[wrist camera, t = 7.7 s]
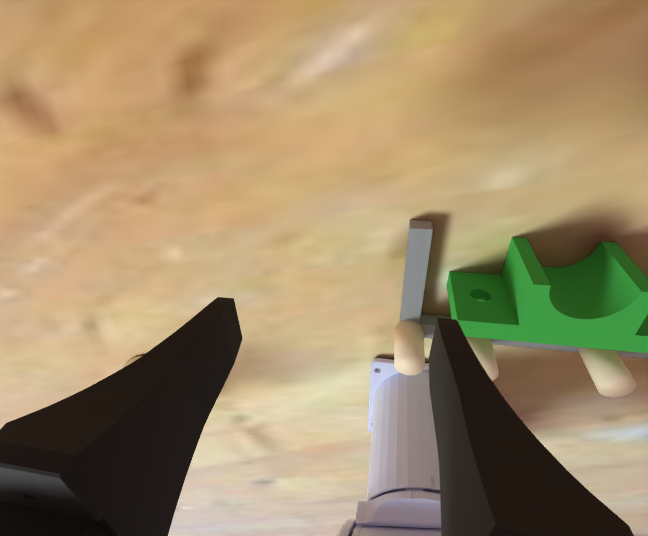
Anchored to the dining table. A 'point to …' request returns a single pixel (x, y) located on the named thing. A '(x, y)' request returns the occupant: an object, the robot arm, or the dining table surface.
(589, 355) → the peg cradle
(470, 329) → the pipe clamp
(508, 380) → the dining table surface
